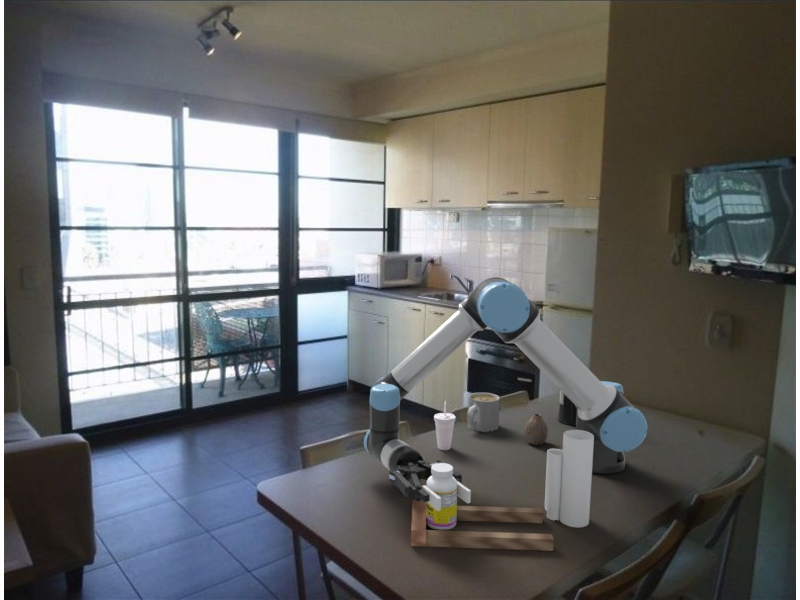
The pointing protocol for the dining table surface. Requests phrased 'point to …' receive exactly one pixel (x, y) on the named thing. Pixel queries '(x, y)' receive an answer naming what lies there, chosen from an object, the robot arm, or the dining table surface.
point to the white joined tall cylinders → (570, 479)
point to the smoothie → (444, 428)
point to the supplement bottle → (442, 497)
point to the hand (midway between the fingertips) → (454, 500)
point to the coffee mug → (483, 412)
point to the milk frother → (567, 410)
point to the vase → (536, 430)
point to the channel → (481, 538)
